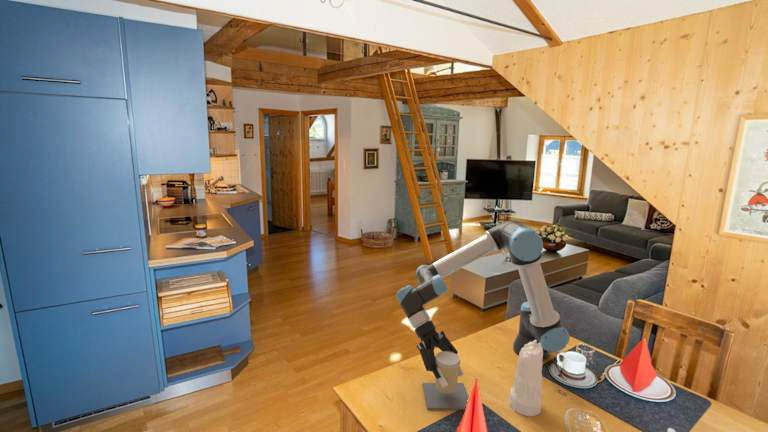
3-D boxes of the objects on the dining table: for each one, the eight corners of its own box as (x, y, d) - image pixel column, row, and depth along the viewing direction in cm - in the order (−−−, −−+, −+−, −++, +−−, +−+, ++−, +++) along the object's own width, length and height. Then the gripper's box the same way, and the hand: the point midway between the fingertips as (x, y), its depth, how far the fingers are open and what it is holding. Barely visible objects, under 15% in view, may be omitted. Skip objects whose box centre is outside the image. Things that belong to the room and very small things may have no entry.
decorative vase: (525, 420, 136) (532, 355, 131) (503, 401, 146) (509, 339, 140) (547, 410, 141) (555, 347, 136) (524, 392, 151) (531, 333, 145)
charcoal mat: (463, 384, 155) (463, 382, 154) (471, 409, 141) (472, 407, 141) (422, 384, 154) (422, 382, 154) (427, 409, 140) (427, 407, 140)
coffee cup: (457, 379, 151) (459, 351, 148) (459, 396, 142) (461, 366, 139) (433, 377, 152) (434, 349, 149) (433, 393, 143) (435, 364, 140)
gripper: (434, 319, 161) (464, 371, 153) (397, 337, 146) (428, 396, 139) (445, 311, 156) (477, 365, 148) (408, 330, 141) (441, 390, 134)
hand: (453, 380), depth 143 cm, fingers closed on coffee cup, 9 cm apart
